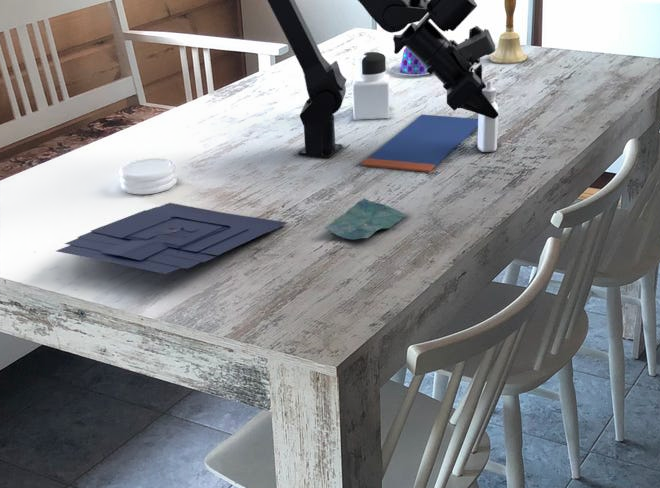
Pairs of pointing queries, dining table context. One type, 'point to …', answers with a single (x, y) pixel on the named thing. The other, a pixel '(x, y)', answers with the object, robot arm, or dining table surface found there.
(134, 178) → the white round disc stack
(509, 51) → the hand bell
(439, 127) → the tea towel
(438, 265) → the dining table surface
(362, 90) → the medicine bottle
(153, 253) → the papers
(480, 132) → the eye dropper bottle
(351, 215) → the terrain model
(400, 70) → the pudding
